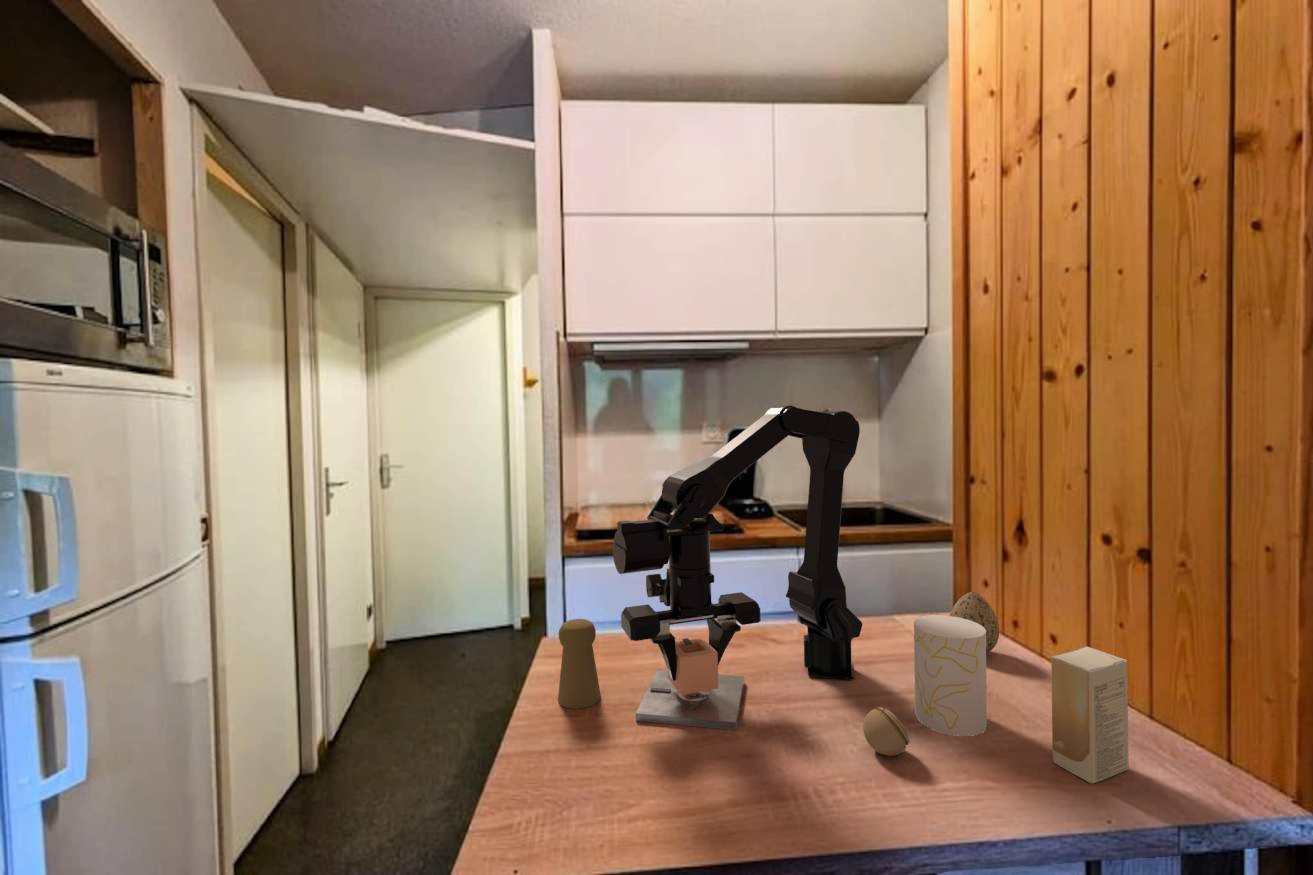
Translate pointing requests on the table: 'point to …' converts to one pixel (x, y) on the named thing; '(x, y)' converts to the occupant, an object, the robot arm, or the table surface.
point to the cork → (578, 665)
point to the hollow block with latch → (695, 666)
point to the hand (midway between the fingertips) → (692, 675)
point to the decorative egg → (978, 616)
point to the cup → (950, 674)
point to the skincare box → (1090, 713)
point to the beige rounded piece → (885, 732)
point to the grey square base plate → (692, 703)
